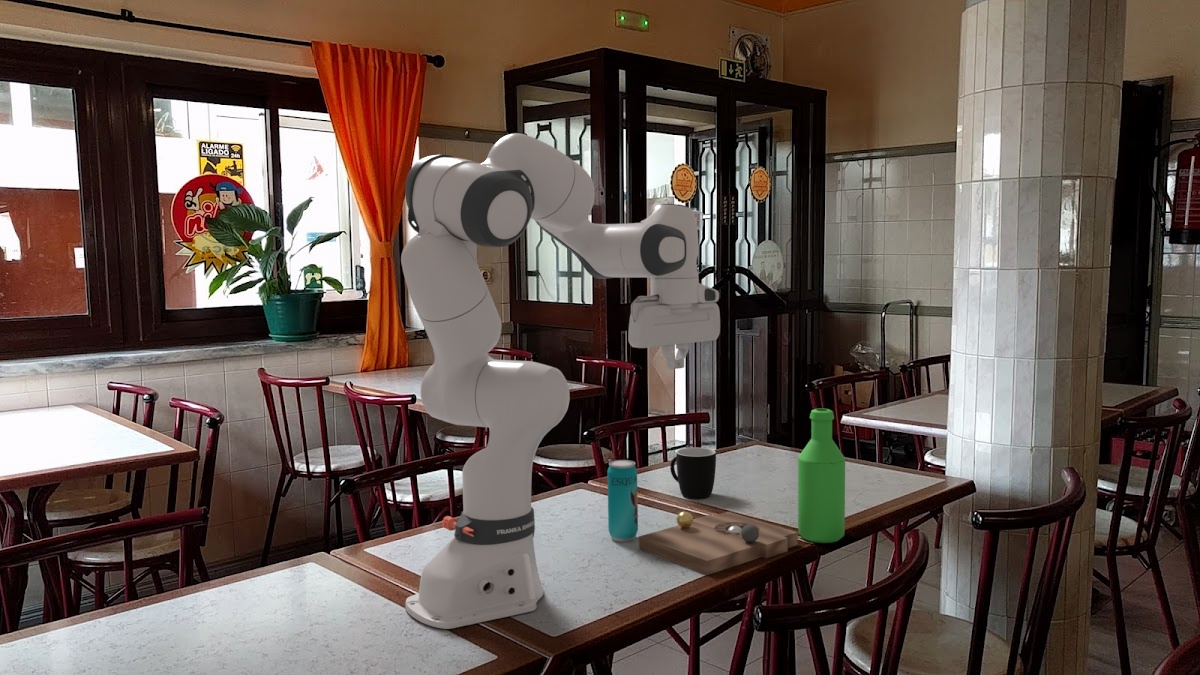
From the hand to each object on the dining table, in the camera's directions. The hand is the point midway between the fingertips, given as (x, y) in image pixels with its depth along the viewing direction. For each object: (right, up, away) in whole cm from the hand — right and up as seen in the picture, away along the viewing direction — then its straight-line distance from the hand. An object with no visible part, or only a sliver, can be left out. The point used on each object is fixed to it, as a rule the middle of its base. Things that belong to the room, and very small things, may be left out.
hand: (675, 368), depth 169 cm
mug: (+7, -30, +40) cm, 51 cm away
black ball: (+13, -30, -2) cm, 33 cm away
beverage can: (-9, -34, +10) cm, 36 cm away
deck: (+8, -34, +3) cm, 35 cm away
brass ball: (+2, -29, +7) cm, 30 cm away
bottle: (+29, -33, +8) cm, 45 cm away
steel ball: (+12, -32, +6) cm, 34 cm away
